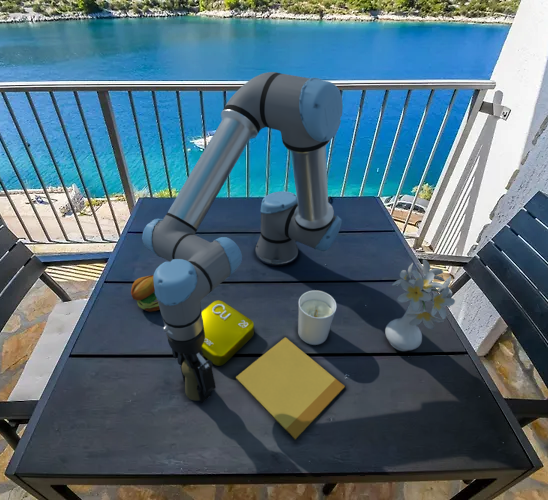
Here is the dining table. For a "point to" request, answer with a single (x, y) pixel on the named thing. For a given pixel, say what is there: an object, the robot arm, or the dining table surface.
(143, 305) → the cheeseburger
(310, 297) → the candle holder
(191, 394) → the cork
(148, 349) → the dining table surface
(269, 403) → the towel
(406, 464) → the dining table surface
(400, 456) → the dining table surface
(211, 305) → the element tile
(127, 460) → the dining table surface
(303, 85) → the robot arm
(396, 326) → the flower vase
